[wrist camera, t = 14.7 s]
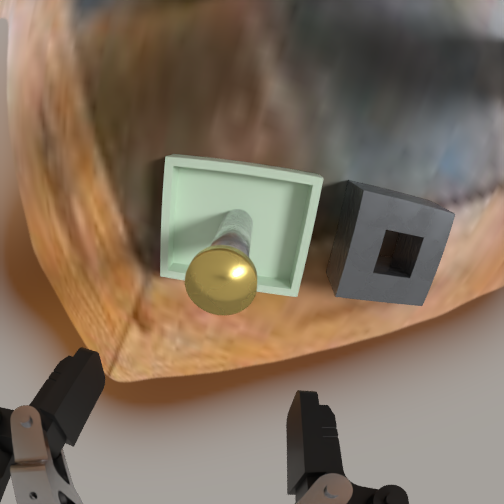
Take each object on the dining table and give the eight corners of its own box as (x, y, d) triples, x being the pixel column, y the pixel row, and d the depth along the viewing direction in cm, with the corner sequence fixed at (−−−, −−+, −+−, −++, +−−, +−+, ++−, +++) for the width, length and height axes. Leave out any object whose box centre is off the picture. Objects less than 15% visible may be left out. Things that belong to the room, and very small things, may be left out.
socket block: (430, 200, 27) (455, 214, 23) (404, 283, 31) (422, 305, 27) (348, 180, 27) (363, 190, 23) (326, 272, 31) (335, 296, 27)
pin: (263, 205, 28) (262, 257, 17) (256, 248, 30) (251, 319, 19) (217, 199, 28) (186, 246, 17) (213, 241, 30) (183, 309, 19)
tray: (318, 174, 27) (323, 178, 25) (295, 284, 32) (297, 296, 30) (173, 154, 27) (165, 156, 25) (167, 265, 32) (160, 276, 29)
